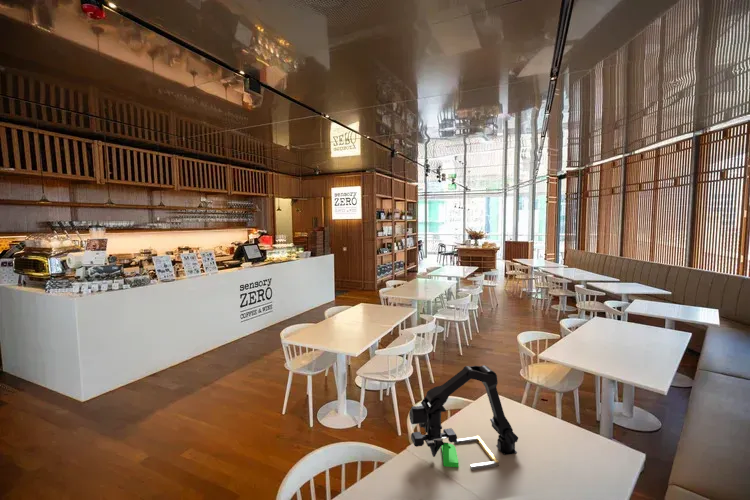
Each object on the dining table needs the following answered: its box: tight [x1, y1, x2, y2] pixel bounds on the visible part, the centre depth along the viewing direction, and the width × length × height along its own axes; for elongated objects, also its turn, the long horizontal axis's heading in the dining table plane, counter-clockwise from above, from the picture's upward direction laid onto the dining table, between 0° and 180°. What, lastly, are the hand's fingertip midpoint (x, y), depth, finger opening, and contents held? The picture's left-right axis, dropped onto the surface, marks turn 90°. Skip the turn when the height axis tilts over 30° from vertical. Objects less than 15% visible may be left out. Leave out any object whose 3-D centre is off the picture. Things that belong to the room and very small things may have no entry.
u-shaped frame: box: [453, 435, 500, 471], centre depth 144 cm, size 12×17×2 cm
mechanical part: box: [440, 441, 460, 468], centre depth 142 cm, size 12×6×8 cm, turn 174°
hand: (433, 456), depth 141 cm, fingers closed
